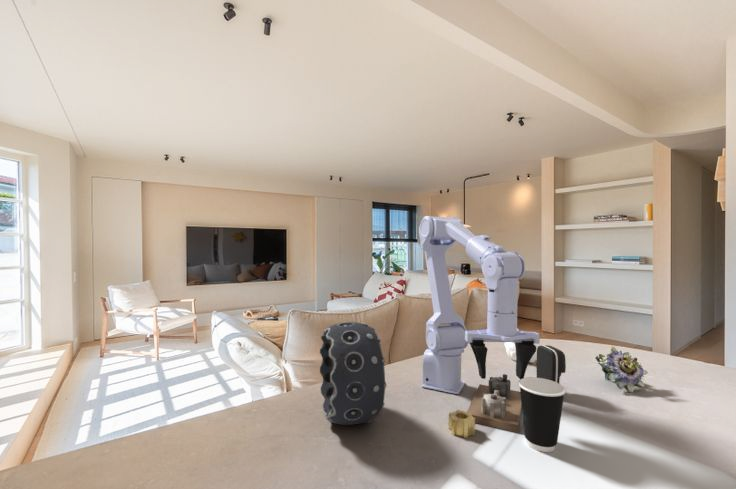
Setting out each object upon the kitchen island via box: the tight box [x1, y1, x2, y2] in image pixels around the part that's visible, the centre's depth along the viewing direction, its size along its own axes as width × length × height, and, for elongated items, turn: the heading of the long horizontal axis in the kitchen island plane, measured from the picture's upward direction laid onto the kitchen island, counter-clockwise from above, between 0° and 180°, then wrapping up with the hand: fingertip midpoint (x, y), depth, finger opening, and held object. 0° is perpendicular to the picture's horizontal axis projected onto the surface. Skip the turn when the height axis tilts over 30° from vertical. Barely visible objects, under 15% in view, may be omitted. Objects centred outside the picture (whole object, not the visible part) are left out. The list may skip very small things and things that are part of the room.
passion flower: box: [595, 345, 649, 394], centre depth 93 cm, size 11×11×12 cm
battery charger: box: [535, 344, 567, 384], centre depth 88 cm, size 7×4×11 cm, turn 8°
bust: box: [503, 327, 537, 364], centre depth 112 cm, size 12×8×11 cm
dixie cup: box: [517, 376, 567, 453], centre depth 66 cm, size 8×8×11 cm
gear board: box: [466, 373, 522, 434], centre depth 79 cm, size 10×17×6 cm, turn 154°
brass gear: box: [448, 409, 476, 439], centre depth 70 cm, size 5×5×3 cm
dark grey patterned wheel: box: [319, 321, 387, 426], centre depth 74 cm, size 11×20×20 cm, turn 15°
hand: (501, 377), depth 73 cm, fingers open, 7 cm apart
